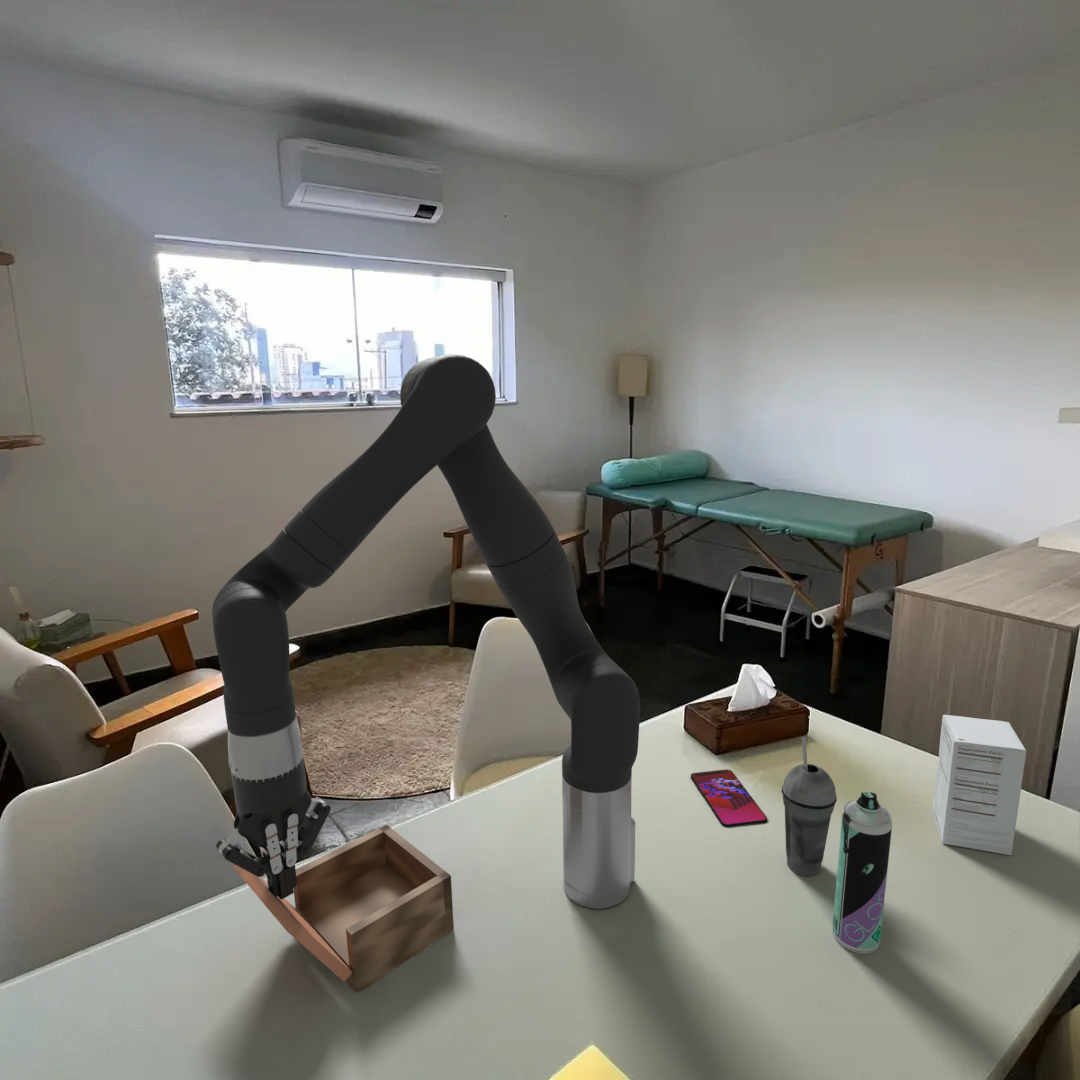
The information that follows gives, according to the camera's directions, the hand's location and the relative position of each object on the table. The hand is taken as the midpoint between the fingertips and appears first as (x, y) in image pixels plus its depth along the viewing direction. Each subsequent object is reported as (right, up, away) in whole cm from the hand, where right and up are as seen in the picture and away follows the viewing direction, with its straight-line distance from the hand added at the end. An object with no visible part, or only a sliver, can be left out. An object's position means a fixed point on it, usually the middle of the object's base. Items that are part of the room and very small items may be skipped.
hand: (284, 893), depth 85 cm
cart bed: (+8, -9, +10) cm, 16 cm away
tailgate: (+3, -7, +4) cm, 9 cm away
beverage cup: (+67, -6, +20) cm, 70 cm away
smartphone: (+61, -2, +37) cm, 71 cm away
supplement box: (+95, -4, +27) cm, 99 cm away
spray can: (+69, -9, +7) cm, 70 cm away
